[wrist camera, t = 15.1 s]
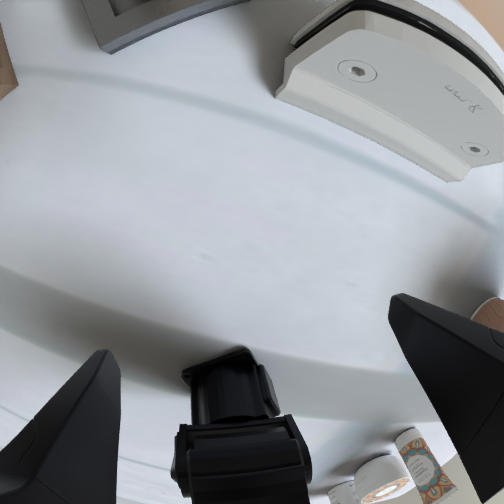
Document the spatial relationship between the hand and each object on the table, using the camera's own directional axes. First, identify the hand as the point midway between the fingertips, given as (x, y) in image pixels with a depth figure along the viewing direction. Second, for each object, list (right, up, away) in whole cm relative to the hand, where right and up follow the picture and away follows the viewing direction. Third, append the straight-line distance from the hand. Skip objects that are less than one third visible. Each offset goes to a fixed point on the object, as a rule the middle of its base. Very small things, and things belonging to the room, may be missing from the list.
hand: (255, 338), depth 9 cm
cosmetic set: (+21, -35, +35) cm, 53 cm away
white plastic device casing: (+10, +14, +10) cm, 20 cm away
